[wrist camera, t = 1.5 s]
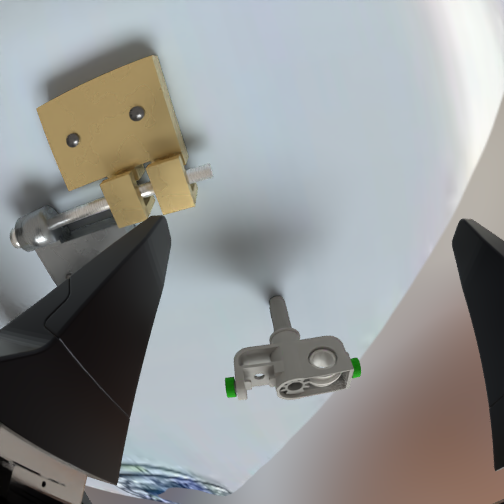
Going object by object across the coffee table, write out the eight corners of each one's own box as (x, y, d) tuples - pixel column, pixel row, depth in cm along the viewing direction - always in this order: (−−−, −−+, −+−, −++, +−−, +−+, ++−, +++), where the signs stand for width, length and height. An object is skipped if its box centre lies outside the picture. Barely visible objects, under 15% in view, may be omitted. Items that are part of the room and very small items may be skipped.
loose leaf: (95, 218, 24) (80, 241, 21) (49, 104, 19) (25, 112, 16) (198, 186, 24) (194, 206, 21) (157, 56, 18) (145, 54, 15)
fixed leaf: (69, 299, 29) (58, 323, 26) (19, 212, 23) (0, 232, 20) (241, 257, 28) (244, 283, 25) (206, 142, 22) (204, 156, 19)
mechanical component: (221, 297, 30) (224, 388, 22) (329, 282, 30) (364, 366, 22) (225, 319, 31) (230, 408, 23) (328, 305, 32) (358, 387, 23)
